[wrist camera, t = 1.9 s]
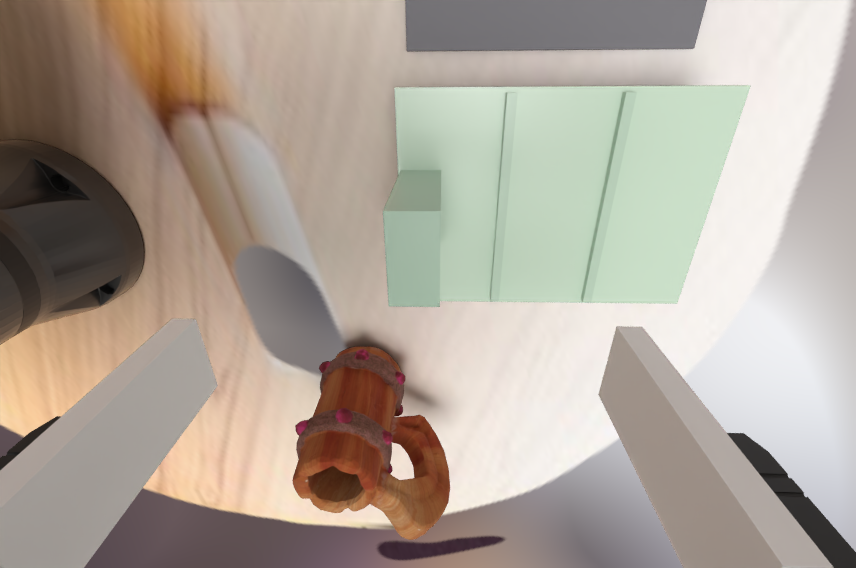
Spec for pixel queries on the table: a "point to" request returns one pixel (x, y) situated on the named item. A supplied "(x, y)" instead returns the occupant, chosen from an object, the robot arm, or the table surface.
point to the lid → (553, 191)
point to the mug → (369, 445)
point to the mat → (552, 24)
